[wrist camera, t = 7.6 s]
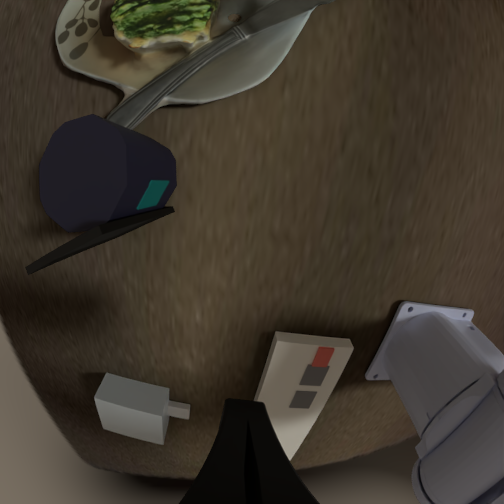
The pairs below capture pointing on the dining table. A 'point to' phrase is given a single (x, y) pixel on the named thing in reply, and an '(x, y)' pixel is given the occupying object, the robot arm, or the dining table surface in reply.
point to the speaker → (102, 183)
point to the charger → (136, 408)
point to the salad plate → (178, 48)
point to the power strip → (300, 382)
